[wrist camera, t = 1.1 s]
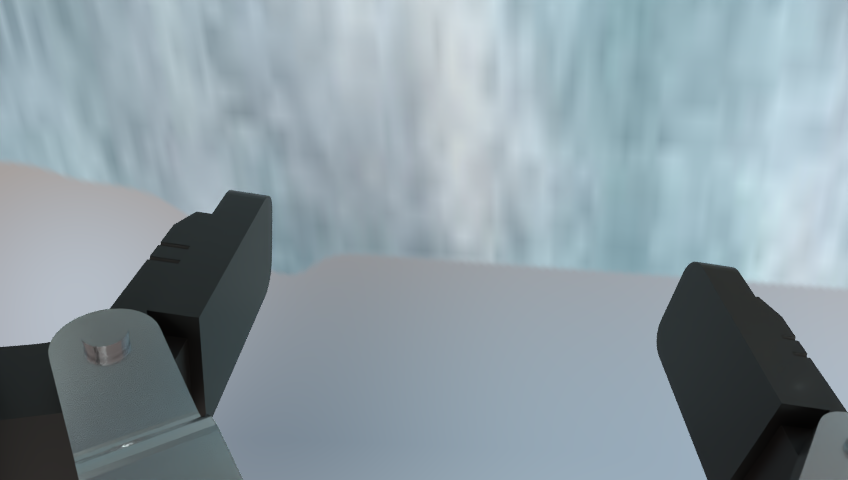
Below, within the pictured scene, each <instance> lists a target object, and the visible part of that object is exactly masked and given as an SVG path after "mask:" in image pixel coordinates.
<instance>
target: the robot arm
mask: <svg viewBox="0 0 848 480" xmlns="http://www.w3.org/2000/svg"><path fill="white" fill-rule="evenodd" d="M271 263H272V201H271V198H270V196H266V195H259V194H253V193H246V192H239V191H233V190H229V191H228V192H227V193H226V194H225V196H224V197H223V199H222V200H221V202H220V203H219V205H218V206H217V208H216V209H215V211H214V212H213V214H208V213H202V212H195V213H193V214H192V215H190V216H188V217H187V218H185V219H183V220H181V221H180V222H178V223H176V224H174V225H173V227H172V228H171V229H170V231H169V232H168V233H167V235H166V236H165V237H164V238H163V240H162V241H161V245H158V246H157V248H156V249H155V250H154V252H153V253H152V254H151V256H150V260H147V261H146V262H145V263H144V265H143V266H142V267H141V269H140V270H139V271H138V272H137V274H136V275H135V276H134V278H133V279H132V280H131V282H130V283H129V284H128V286H127V287H126V288H125V290H124V291H123V292H122V293H121V295H120V296H119V297H118V299H117V300H116V301H115V303H114V304H113V305H112V307H111V308H110V309H105V310H100V311H96V312H92V313H88V314H86V315H83V316H81V317H78V318H77V319H75V320H73V321H71V322H69V323H68V324H66V325H65V326H64V327H62V328H61V329H60V330H59V331H58V332H57V333H56V334H55V336H54V337H53V339H52V340H51V342H48V343H42V344H32V345H20V346H9V347H0V480H243V478H242V476H241V474H240V472H239V470H238V468H237V466H236V464H235V462H234V459H233V457H232V455H231V453H230V451H229V449H228V447H227V445H226V442H225V441H224V439H223V436H222V434H221V432H220V430H219V428H218V426H217V424H216V422H215V421H214V419H213V418H212V417H213V414H214V412H215V409H216V408H217V405H218V403H219V401H220V398H221V396H222V394H223V392H224V389H225V387H226V385H227V382H228V380H229V378H230V376H231V373H232V371H233V369H234V366H235V364H236V362H237V359H238V357H239V355H240V353H241V350H242V348H243V345H244V343H245V341H246V339H247V337H248V334H249V332H250V330H251V327H252V325H253V323H254V321H255V318H256V316H257V314H258V311H259V309H260V307H261V304H262V302H263V300H264V298H265V295H266V292H267V288H268V285H269V280H270V274H271ZM657 350H658V354H659V357H660V360H661V362H662V365H663V367H664V370H665V373H666V375H667V378H668V380H669V383H670V385H671V388H672V390H673V393H674V396H675V398H676V401H677V403H678V405H679V408H680V411H681V413H682V416H683V418H684V421H685V423H686V426H687V428H688V431H689V433H690V436H691V439H692V441H693V444H694V446H695V449H696V451H697V454H698V457H699V459H700V461H701V464H702V467H703V469H704V472H705V474H706V477H707V480H848V412H847V411H846V409H845V408H844V407H843V405H842V404H841V402H840V401H839V399H838V398H837V396H836V395H835V393H834V392H833V391H832V389H831V388H830V386H829V385H828V383H827V382H826V380H825V379H824V377H823V376H822V374H821V373H820V372H819V370H818V369H817V367H816V366H815V364H814V363H813V361H812V360H811V359H810V358H807V353H806V351H805V350H804V348H803V347H802V345H801V344H800V343H799V341H795V335H794V334H793V333H792V331H791V330H790V328H789V327H788V325H787V324H786V322H785V321H784V319H783V318H782V317H781V316H780V315H779V314H778V313H777V312H776V311H774V310H773V309H772V308H771V307H770V306H769V305H767V304H766V303H765V302H764V301H763V300H761V299H760V298H759V297H755V295H754V294H753V292H752V291H751V289H750V288H749V286H748V285H747V283H746V282H745V280H744V279H743V277H742V276H741V274H740V273H739V271H738V270H737V269H735V268H733V267H727V266H721V265H714V264H708V263H701V262H692V263H690V264H689V265H688V266H687V267H686V269H685V271H684V272H683V275H682V277H681V279H680V281H679V283H678V285H677V287H676V290H675V292H674V294H673V296H672V298H671V300H670V302H669V305H668V307H667V309H666V311H665V313H664V315H663V317H662V320H661V322H660V324H659V328H658V333H657Z"/></svg>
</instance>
